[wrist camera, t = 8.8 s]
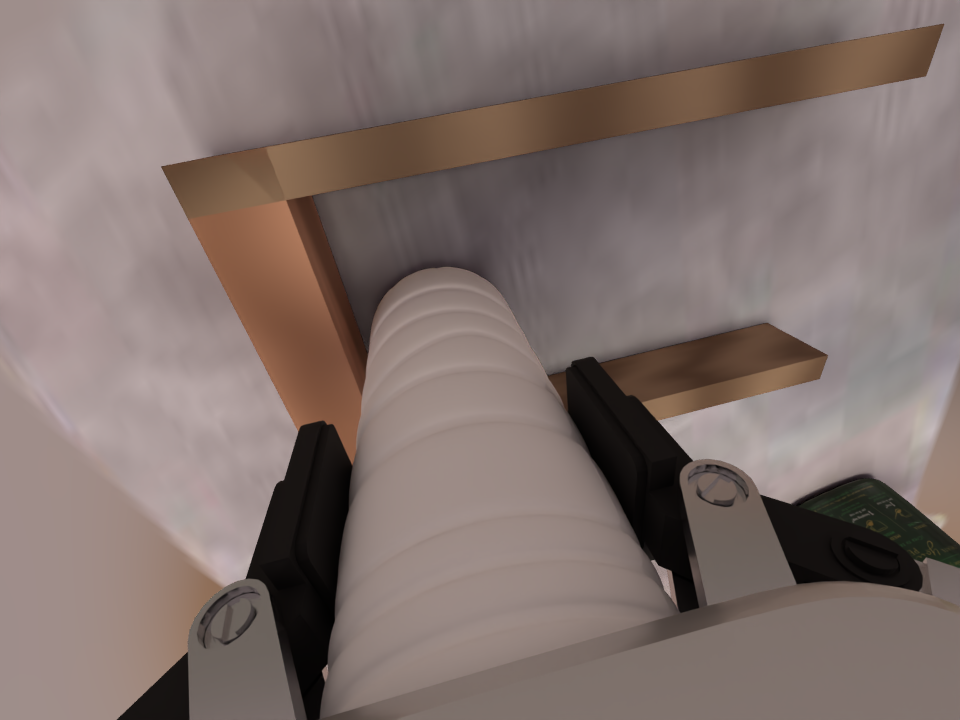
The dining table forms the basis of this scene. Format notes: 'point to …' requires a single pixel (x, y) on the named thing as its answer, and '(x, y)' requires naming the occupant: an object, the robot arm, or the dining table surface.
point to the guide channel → (474, 139)
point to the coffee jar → (887, 519)
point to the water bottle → (470, 506)
